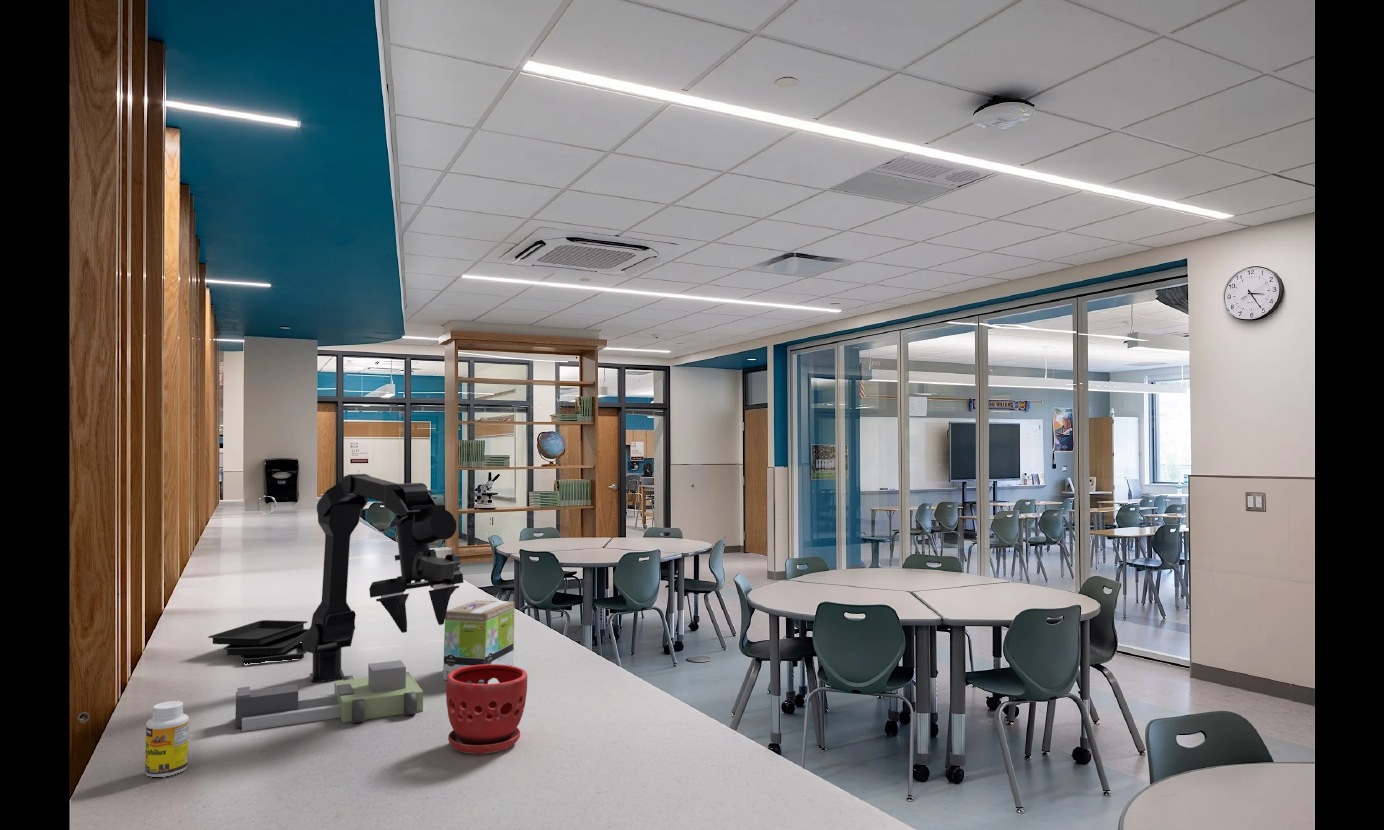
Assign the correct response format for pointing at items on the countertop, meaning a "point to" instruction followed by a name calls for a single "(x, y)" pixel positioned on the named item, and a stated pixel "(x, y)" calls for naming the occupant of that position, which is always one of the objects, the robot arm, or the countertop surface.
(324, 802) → the countertop surface
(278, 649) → the tray
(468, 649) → the tea box
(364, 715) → the toy flatbed truck
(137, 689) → the countertop surface
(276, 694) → the dark grey stepped block
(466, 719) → the plant pot
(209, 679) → the countertop surface
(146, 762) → the supplement bottle
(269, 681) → the countertop surface
